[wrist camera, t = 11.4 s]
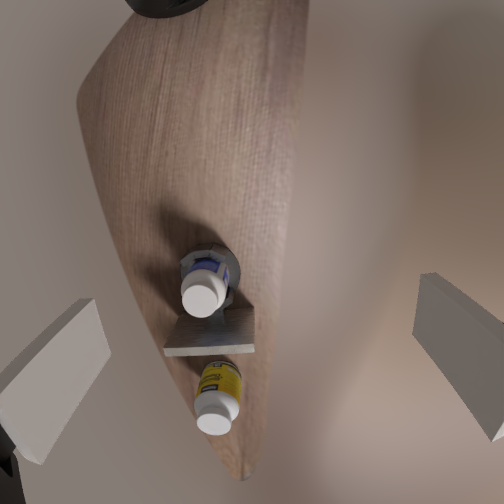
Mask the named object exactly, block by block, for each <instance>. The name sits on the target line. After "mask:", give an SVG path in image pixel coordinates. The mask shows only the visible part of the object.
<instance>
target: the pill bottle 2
mask: <svg viewBox="0 0 504 504" xmlns="http://www.w3.org/2000/svg"><path fill="white" fill-rule="evenodd" d="M240 393H241V374H240V372H239V370H238V369H237V368H236V367H235V366H234V365H232V364H230V363H227V362H223V361H217V362H213V363H210V364H208V365H207V366H206V367H205V368H204V370H203V372H202V375H201V379H200V383H199V387H198V391H197V394H196V398H195V403H194V408H195V411H196V413H197V415H198V417H197V425H198V427H199V428H200V429H201V430H202V431H203V432H205V433H207V434H211V435H222V434H225V433H227V432H228V431H229V430H230V428H231V422H232V420H234V419H235V418H236V417H237V415H238V412H239V405H240Z"/></svg>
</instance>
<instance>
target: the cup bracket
mask: <svg viewBox="0 0 504 504" xmlns="http://www.w3.org/2000/svg"><path fill="white" fill-rule="evenodd" d="M204 257H210V258H213V259H215V260H217V261H220V262H222V263H224V262H225V264H226V265H227V267H228V270H229V282H228V287H227V292H226V296H225V300H224V302H223V304H222V305H221V306H220V307H219V308H218V309H216V310H215V311H214V313H212V314H211V315H210V316H207V317H203V318H200V317H195V316H192V315H191V314H189V313H180V315H179V317H178V319H177V321H176V323H175V325H174V327H173V329H172V331H171V333H170V335H169V337H168V339H167V341H166V343H165V345H164V347H163V350H164V353H165V356H198V355H219V354H236V353H249V352H255V310H254V307H252V308H241V309H229V310H225V307H227V306H228V305H230V304H231V303H233V297H234V292H235V290H236V288H237V286H238V284H239V281H240V274H241V273H240V266H239V263H238V261H237V259H236V257H235V256H234V254H233V253H232V252H231V251H230V250H229V249H228V248H226V247H224V246H221V245H219V244H217V243H214V242H213V243H204V244H198V245H196V246H195V247H194V248H192V249H191V250H190V251H188V252H187V253H186V254H185V255H184V256H183V258H182V259H181V260H180V261H179V262H180V263H181V272H180V273H181V278H182V282H183V280H184V278H185V277H186V275H187V273H188V272H189V270H190V268H191V267H192V265H193V263H194V262H195V261H196V260H197V259H199V258H204Z"/></svg>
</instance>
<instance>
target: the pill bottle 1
mask: <svg viewBox="0 0 504 504" xmlns="http://www.w3.org/2000/svg"><path fill="white" fill-rule="evenodd" d="M228 282H229V270H228V267H227V265H226V264H225V262H224V263H222V262H220V261H217V260H215V259H213V258H210V257H204V258H199V259H197V260H196V261H195V262H194V263H193V265H192V267H191V268H190V270H189V272H188V273H187V275H186V277H185V278H184V280H183V282H182V285H181V295H182V303H183V306H184V308H185V310H186V311H187V312H188V313H189V314H191V315H192V316H195V317H200V318H203V317H207V316H210V315H211V314H212V313H214V311H215V310H216V309H218V308H219V307H220V306H221V305H222V304H223V302H224V300H225V296H226V292H227V287H228Z"/></svg>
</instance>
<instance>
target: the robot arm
mask: <svg viewBox="0 0 504 504" xmlns="http://www.w3.org/2000/svg"><path fill="white" fill-rule="evenodd" d="M125 1H126V2H127V4H128V5H129V6H130V7H131V8H132V9H133V10H134V11H135V12H136V13H138V14H140V15H142V16H145V17H149V18H169V17H174V16H178V15H182V14H184V13H187V12H189V11H192V10H194V9H196V8H197V7H199V6H201V5H202V4H204V3H205V2H206V1H208V0H125ZM412 334H413V336H414V337H415V338H416V339H417V341H418V342H419V343H420V344H421V346H422V347H423V348H424V350H425V351H426V352H427V353H428V355H429V356H430V357H431V359H432V360H433V361H434V362H435V364H436V365H437V366H438V368H439V369H440V370H441V371H442V373H443V374H444V376H445V377H446V378H447V380H448V381H449V382H450V383H451V385H452V386H453V388H454V389H455V390H456V392H457V393H458V395H459V396H460V397H461V399H462V400H463V402H464V403H465V404H466V406H467V407H468V409H469V410H470V411H471V413H472V414H473V416H474V417H475V419H476V420H477V422H478V423H479V424H480V426H481V427H482V429H483V430H484V432H485V433H486V435H487V436H488V438H489V439H490V441H491V442H493V441H495V440H496V439H498V438H500V437H502V436H504V323H503V322H501V321H500V320H498V319H497V318H496V317H495V316H493V315H492V314H491V313H490V312H488V311H487V310H486V309H484V308H483V307H482V306H480V305H479V304H478V303H477V302H475V301H474V300H473V299H471V298H470V297H469V296H467V295H466V294H465V293H463V292H462V291H461V290H459V289H458V288H457V287H455V286H454V285H453V284H451V283H450V282H448V281H447V280H446V279H444V278H443V277H441V276H440V275H439V274H437V273H428V274H421V275H420V285H419V293H418V301H417V308H416V315H415V321H414V327H413V333H412ZM110 356H111V352H110V349H109V346H108V343H107V340H106V337H105V334H104V331H103V328H102V324H101V321H100V318H99V315H98V311H97V307H96V304H95V301H94V298H90V299H89V298H88V299H79V300H78V301H77V302H75V303H74V304H73V305H72V306H71V307H69V308H68V309H67V310H66V311H65V312H64V313H63V314H62V315H61V316H59V317H58V318H57V319H56V320H55V321H54V322H53V323H52V324H51V325H50V326H48V327H47V328H46V329H45V330H44V331H43V332H42V333H41V334H40V335H39V336H38V337H37V338H36V339H35V340H34V341H33V342H31V343H30V344H29V345H28V346H27V347H26V348H25V349H24V350H23V351H22V352H21V353H20V354H19V355H18V356H17V357H16V358H15V359H14V360H13V361H12V362H11V363H10V364H9V365H8V366H7V367H6V368H5V369H4V370H3V371H2V372H1V373H0V504H26V502H25V498H24V494H23V489H22V484H21V479H20V473H19V467H18V461H17V458H16V456H15V455H14V453H13V450H14V449H15V447H17V449H18V450H19V451H20V452H21V454H22V455H23V456H24V457H25V459H27V460H30V461H32V462H35V463H37V464H40V465H42V464H43V462H44V460H45V458H46V457H47V455H48V453H49V451H50V450H51V448H52V447H53V445H54V443H55V442H56V440H57V438H58V437H59V435H60V433H61V432H62V430H63V428H64V427H65V425H66V423H67V422H68V420H69V419H70V417H71V415H72V414H73V412H74V411H75V409H76V408H77V406H78V404H79V403H80V401H81V399H82V398H83V397H84V395H85V394H86V392H87V390H88V389H89V387H90V386H91V384H92V383H93V381H94V380H95V378H96V377H97V375H98V374H99V372H100V371H101V369H102V368H103V366H104V365H105V363H106V362H107V360H108V359H109V357H110Z"/></svg>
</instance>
